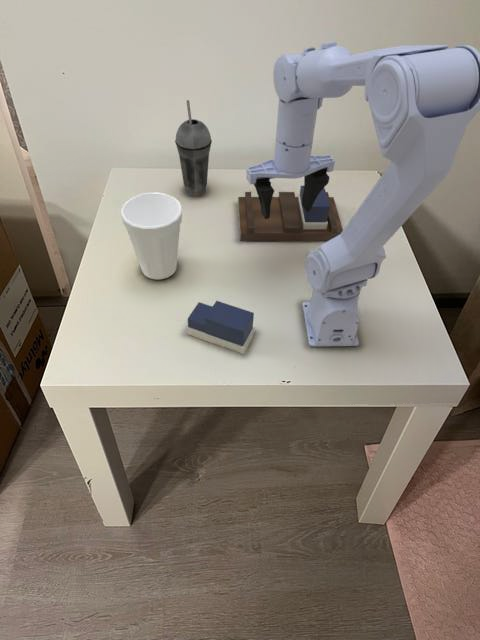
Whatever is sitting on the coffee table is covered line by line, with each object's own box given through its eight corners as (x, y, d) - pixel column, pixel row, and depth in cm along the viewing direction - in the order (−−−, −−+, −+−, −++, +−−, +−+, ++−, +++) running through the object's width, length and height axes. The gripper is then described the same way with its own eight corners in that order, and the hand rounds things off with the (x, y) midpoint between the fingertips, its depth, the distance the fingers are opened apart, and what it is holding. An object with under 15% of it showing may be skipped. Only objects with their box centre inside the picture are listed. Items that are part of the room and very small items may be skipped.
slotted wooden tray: (341, 241, 95) (345, 227, 93) (240, 241, 94) (240, 227, 92) (331, 204, 103) (334, 192, 101) (238, 204, 102) (238, 191, 100)
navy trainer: (254, 333, 79) (256, 312, 75) (243, 354, 76) (244, 333, 72) (199, 314, 81) (198, 293, 77) (186, 334, 78) (184, 312, 74)
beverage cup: (219, 188, 106) (218, 96, 91) (199, 204, 102) (196, 110, 87) (191, 178, 108) (187, 86, 94) (172, 193, 104) (163, 100, 89)
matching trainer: (326, 229, 94) (331, 207, 90) (303, 229, 94) (306, 207, 90) (319, 199, 101) (322, 178, 97) (297, 199, 101) (300, 177, 97)
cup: (154, 244, 93) (146, 185, 83) (197, 263, 90) (194, 203, 80) (119, 274, 87) (107, 214, 77) (164, 296, 84) (157, 236, 74)
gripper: (326, 120, 79) (314, 193, 89) (241, 131, 75) (239, 205, 85) (345, 141, 74) (331, 215, 84) (256, 154, 71) (252, 229, 81)
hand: (285, 212), depth 85 cm, fingers open, 7 cm apart
